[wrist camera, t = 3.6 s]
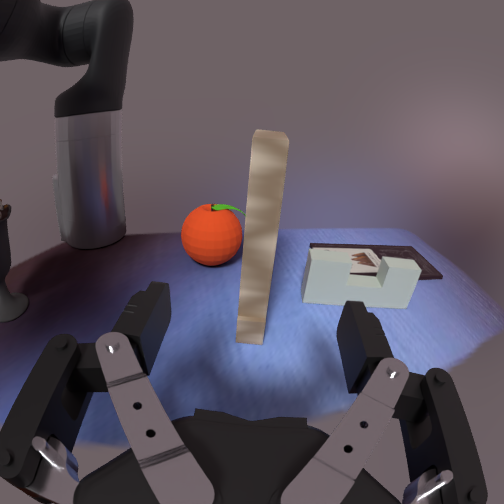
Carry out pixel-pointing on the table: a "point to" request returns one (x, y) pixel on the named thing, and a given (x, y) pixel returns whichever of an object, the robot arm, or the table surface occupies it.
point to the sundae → (3, 303)
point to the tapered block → (261, 232)
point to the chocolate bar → (379, 258)
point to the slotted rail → (357, 281)
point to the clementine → (212, 234)
